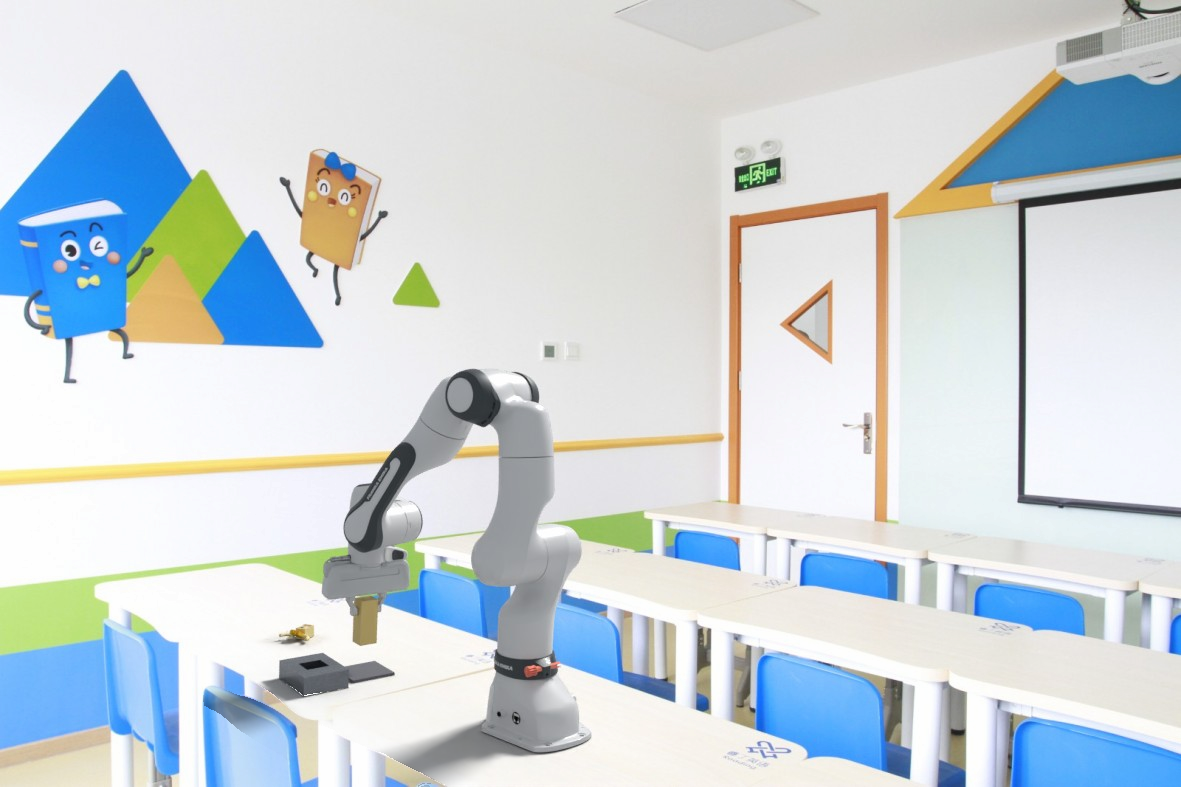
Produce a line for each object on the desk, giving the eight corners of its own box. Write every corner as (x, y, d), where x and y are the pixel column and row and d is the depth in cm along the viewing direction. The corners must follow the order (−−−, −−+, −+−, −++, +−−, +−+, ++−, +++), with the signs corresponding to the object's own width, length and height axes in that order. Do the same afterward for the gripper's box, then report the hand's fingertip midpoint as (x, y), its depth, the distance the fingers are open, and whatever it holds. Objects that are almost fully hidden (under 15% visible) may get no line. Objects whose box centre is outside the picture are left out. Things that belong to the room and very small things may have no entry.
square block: (376, 643, 205) (378, 599, 205) (360, 646, 202) (361, 601, 202) (368, 638, 208) (370, 595, 208) (352, 641, 205) (354, 597, 205)
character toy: (277, 628, 226) (297, 621, 233) (276, 641, 226) (297, 633, 234) (303, 633, 223) (323, 625, 231) (303, 646, 223) (323, 638, 231)
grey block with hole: (348, 687, 195) (349, 669, 195) (303, 696, 189) (304, 677, 189) (322, 670, 206) (322, 652, 206) (278, 678, 200) (279, 660, 200)
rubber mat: (394, 675, 204) (394, 672, 204) (353, 683, 198) (353, 680, 198) (374, 663, 212) (374, 660, 212) (334, 670, 206) (334, 668, 206)
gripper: (329, 560, 196) (327, 623, 196) (414, 551, 209) (412, 610, 209) (318, 554, 201) (316, 616, 201) (401, 546, 214) (399, 604, 214)
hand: (365, 613), depth 205 cm, fingers closed on square block, 4 cm apart
